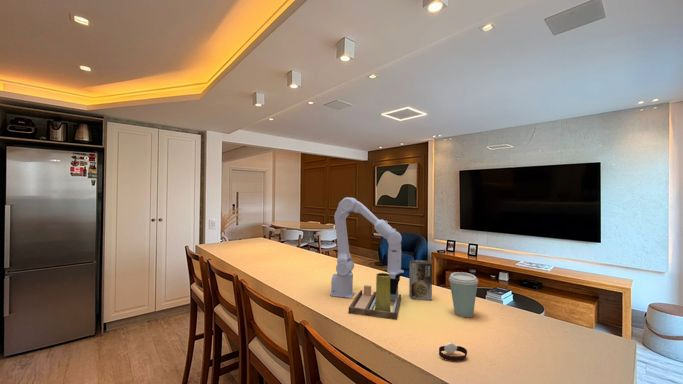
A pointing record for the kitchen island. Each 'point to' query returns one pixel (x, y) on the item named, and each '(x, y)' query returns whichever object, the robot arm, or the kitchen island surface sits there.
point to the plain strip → (364, 297)
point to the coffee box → (420, 280)
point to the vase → (382, 292)
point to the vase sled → (392, 297)
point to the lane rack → (373, 313)
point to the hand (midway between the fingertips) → (394, 291)
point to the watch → (451, 349)
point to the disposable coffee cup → (463, 293)
